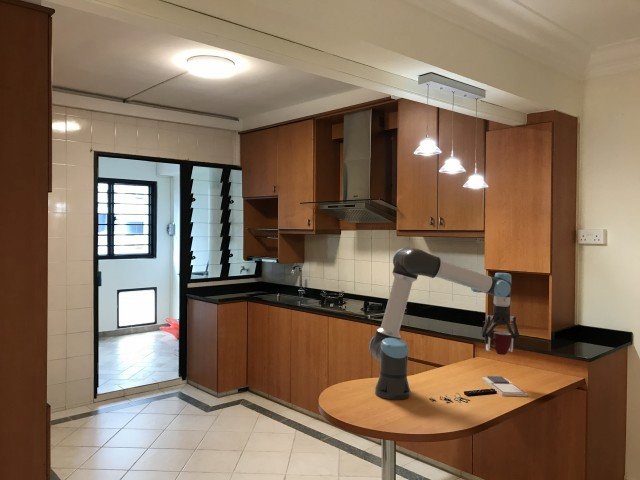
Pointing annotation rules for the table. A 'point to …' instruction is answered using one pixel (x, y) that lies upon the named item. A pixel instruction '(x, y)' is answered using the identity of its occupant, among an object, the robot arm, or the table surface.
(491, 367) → the table surface
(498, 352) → the mug
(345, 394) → the table surface
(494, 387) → the board
